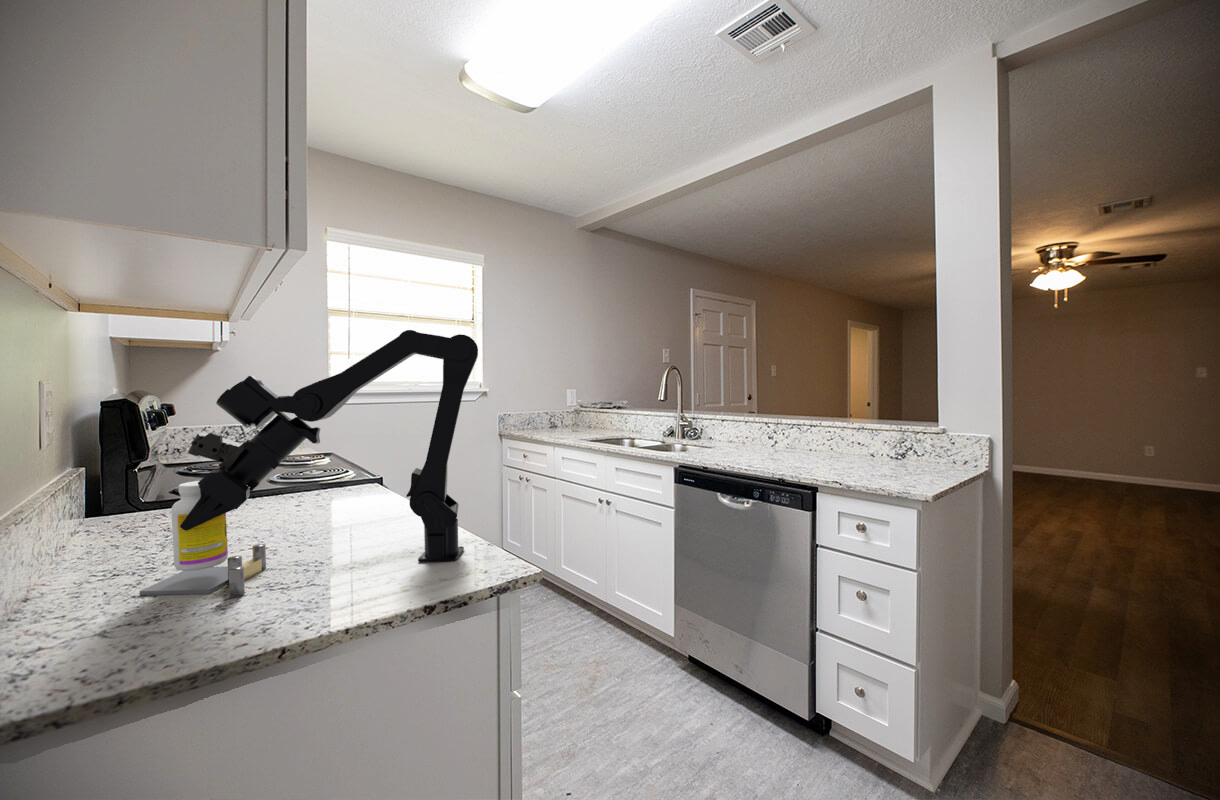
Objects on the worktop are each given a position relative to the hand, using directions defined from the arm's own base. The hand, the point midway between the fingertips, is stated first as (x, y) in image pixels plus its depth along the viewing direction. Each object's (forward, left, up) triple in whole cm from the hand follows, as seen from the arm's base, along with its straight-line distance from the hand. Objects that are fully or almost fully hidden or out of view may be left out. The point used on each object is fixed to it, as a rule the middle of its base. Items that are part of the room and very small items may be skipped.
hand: (188, 523), depth 81 cm
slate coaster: (0, +1, -9) cm, 9 cm away
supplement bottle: (-1, +1, -7) cm, 7 cm away
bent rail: (0, +9, -9) cm, 13 cm away
